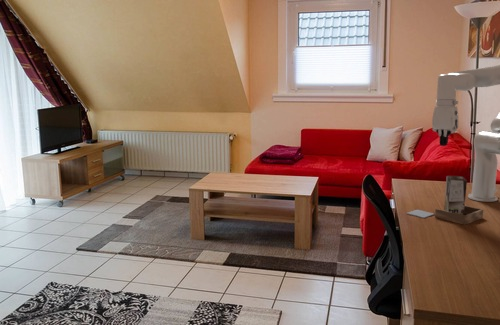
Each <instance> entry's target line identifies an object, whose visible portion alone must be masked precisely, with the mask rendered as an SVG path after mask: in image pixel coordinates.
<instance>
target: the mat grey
mask: <svg viewBox="0 0 500 325" xmlns="http://www.w3.org/2000/svg"><path fill="white" fill-rule="evenodd" d="M406 215H410V216H413V217H417V218H421V219H426V218H428V217H429V218H430V217H431V216H435V213H433V212H428V211H425V210H421V209H414V210H412V211H408V212H406Z"/></svg>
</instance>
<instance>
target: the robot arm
mask: <svg viewBox="0 0 500 325" xmlns="http://www.w3.org/2000/svg"><path fill="white" fill-rule="evenodd" d="M497 85H499V86H500V64H499V65H493V66H487V67H479V68H475V69H473V68H472V69H466V70H459V71H454V72H453V71H452V72H448V73H442V74H439V75H438V76H437V89H436V105H435V106H434V110H433V114H432V120H431V121H432V122H431V127H432V129H431V130H432V131H433V132H435V133H437V135H438V137H439V146H442V147H444V146H445V147H446V146H447V145H448V142H449V137H450V136H451V135H452V134H454V133H455V134H456V133H457V132H458V131H457V129H458V128H459V110H458V107H457V106H456V105H459V101H458V100H457V99H456V98H457V91H459V92H467V91H470V90H472V89H473V88H489V87H494V86H497ZM489 128H490V130H483V131H480V132H478V133H477V134H475V136H474V138H473V146H474V147H473V148H474V165H473V166H474V167H473V176H472V185H471V186H472V187H471V193H468V194H467V198H468V199H469V200H473V201H477V202H482V203H483V202H484V203H485V202H487V203H491V202H492V203H494V202H498V199H499V198H498V197H497V196H496V195H495V193H497V192H498V189H497V188H496V181H497V173H498V157H497V155H500V111H499V112H498V113H497V114H496V115H495V116H494V118H493V119H492V121H491V122H490V126H489Z"/></svg>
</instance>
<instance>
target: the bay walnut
mask: <svg viewBox="0 0 500 325" xmlns="http://www.w3.org/2000/svg"><path fill="white" fill-rule="evenodd" d="M434 214H435V215H434V218H437V219H441V220H444V221H448V222H452V223H455V224H461V225H463V226H466V225H468V224H471V223H473V222H475V221H478V220H481V219H483V217H484V209H482V208H477V207H472V206H468V205H465V207H464V215H461V214H456V213H452V212H448V211H444V209H439V208H435V213H434Z"/></svg>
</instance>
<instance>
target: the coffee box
mask: <svg viewBox="0 0 500 325" xmlns="http://www.w3.org/2000/svg"><path fill="white" fill-rule="evenodd" d="M467 184H468V180H467V179H466V178H465V177H464V176H462V175H461V176H460V175H446V181H445V193H444V207H443V210H444V211H448V212H452V213H456V214H461V215H465V214H464V207H465V206H466V205H465V204H466V195H467Z"/></svg>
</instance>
